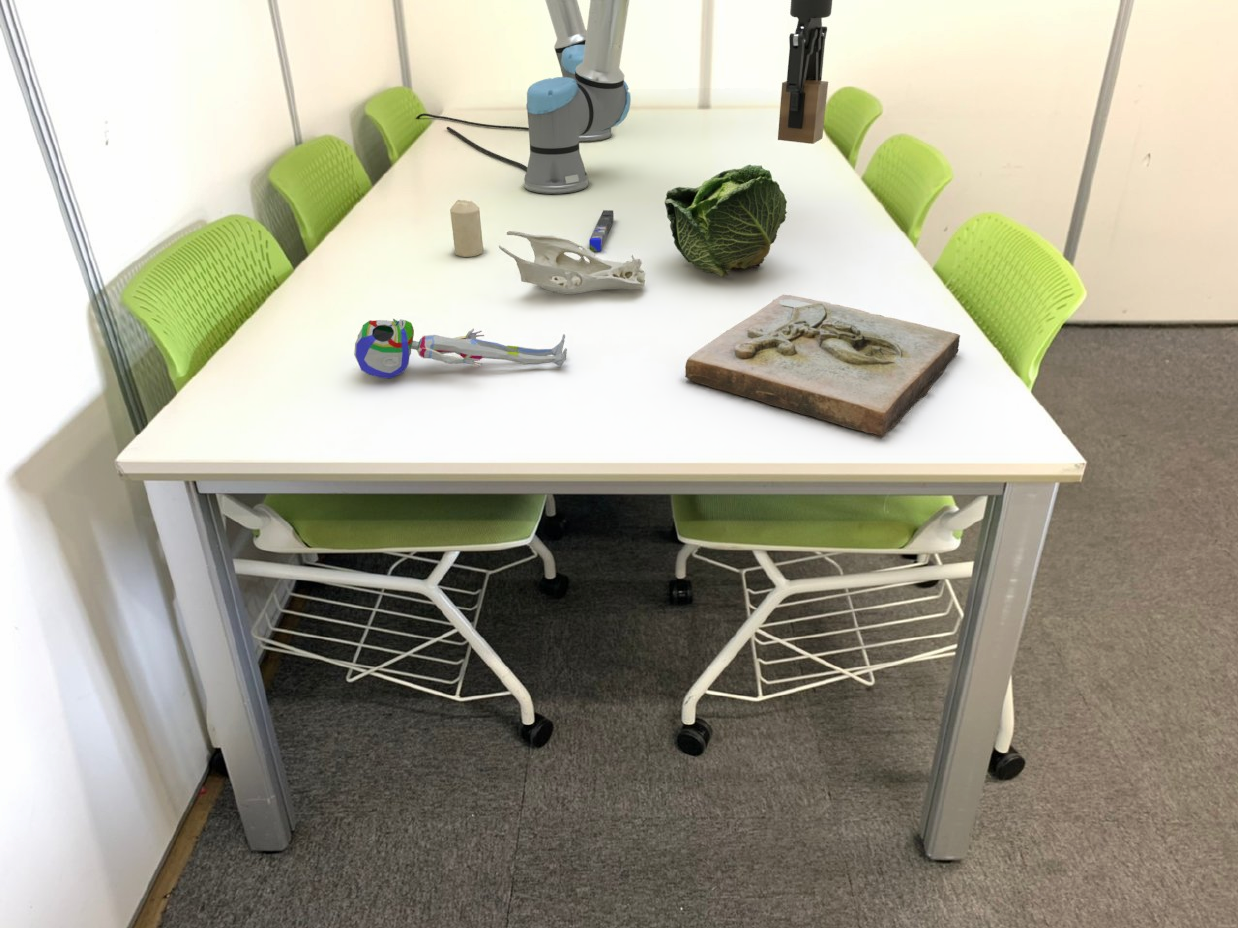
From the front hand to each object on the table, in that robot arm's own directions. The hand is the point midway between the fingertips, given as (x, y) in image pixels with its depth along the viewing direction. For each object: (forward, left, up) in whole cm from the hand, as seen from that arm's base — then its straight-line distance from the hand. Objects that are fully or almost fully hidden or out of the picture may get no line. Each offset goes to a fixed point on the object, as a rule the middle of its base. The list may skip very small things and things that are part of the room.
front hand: (800, 124), depth 177 cm
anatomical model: (-7, -56, -20) cm, 60 cm away
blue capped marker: (-24, -32, -20) cm, 45 cm away
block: (0, 0, -3) cm, 3 cm away
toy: (+4, -89, -20) cm, 91 cm away
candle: (-36, -57, -20) cm, 70 cm away
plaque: (+43, -53, -20) cm, 71 cm away
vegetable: (+6, -31, -20) cm, 37 cm away
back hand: (-79, +63, +21) cm, 103 cm away
